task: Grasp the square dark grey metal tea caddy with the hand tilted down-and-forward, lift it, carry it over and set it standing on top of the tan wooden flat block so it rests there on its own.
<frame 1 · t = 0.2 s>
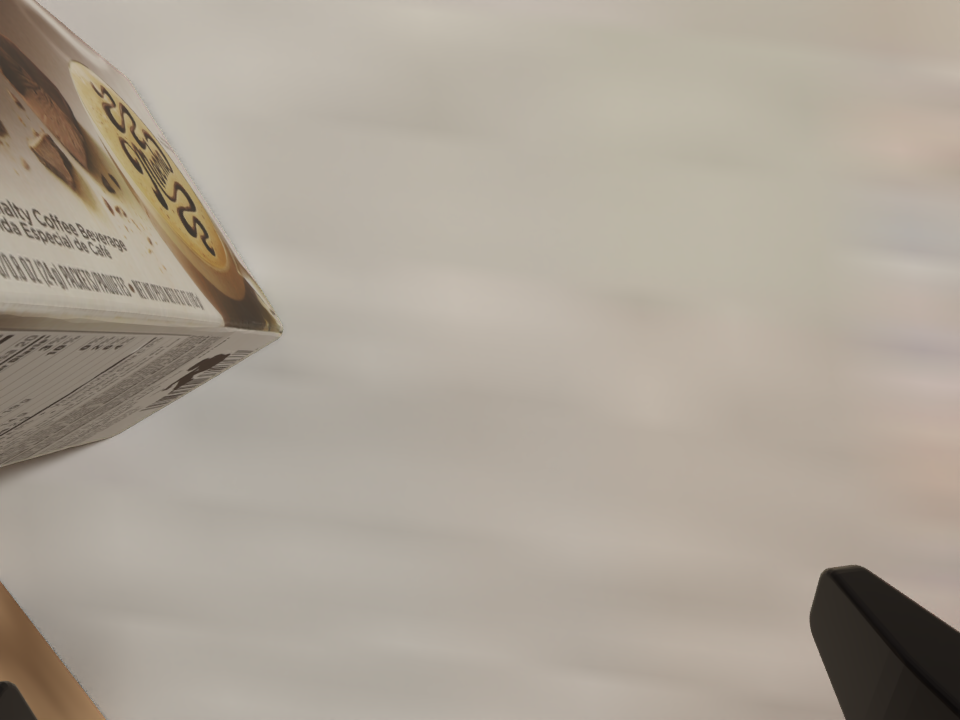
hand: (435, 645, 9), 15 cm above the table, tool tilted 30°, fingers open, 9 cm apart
coffee box: (124, 261, 23), on the table
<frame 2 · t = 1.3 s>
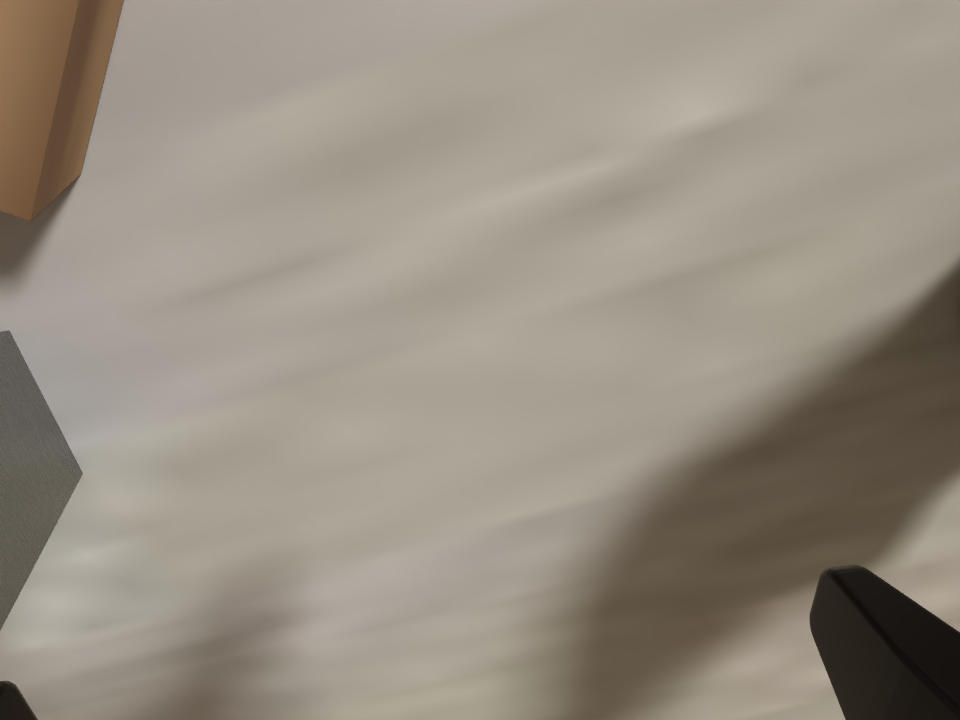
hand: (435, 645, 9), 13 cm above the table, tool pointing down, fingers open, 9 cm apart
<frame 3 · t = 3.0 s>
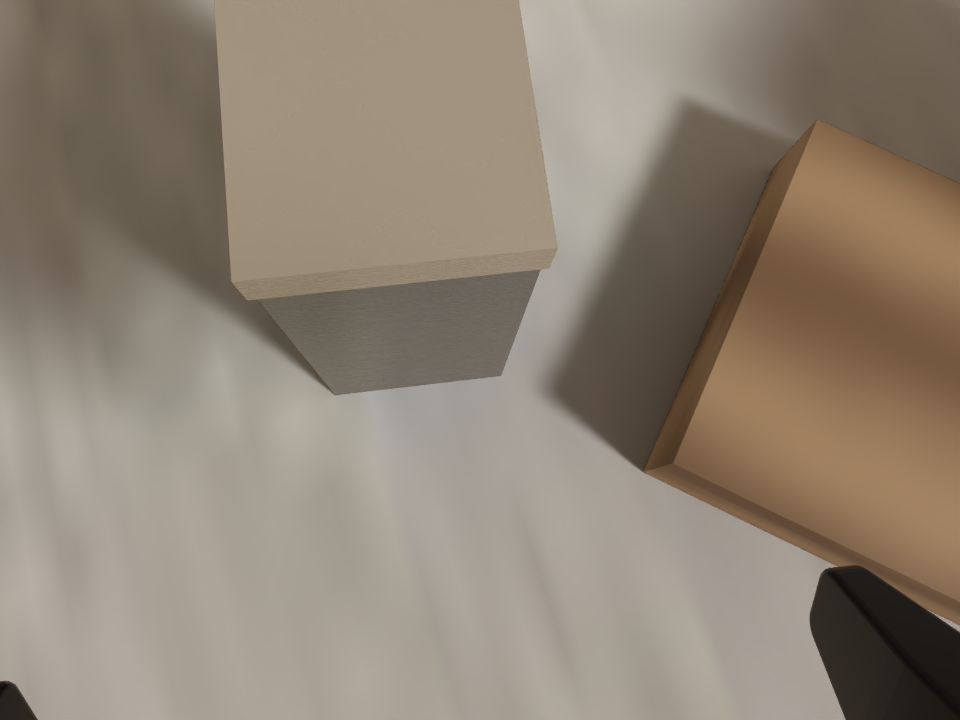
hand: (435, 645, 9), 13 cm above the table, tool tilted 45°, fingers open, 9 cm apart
tea caddy: (409, 305, 23), on the table
tan wooden flat block: (875, 388, 23), on the table
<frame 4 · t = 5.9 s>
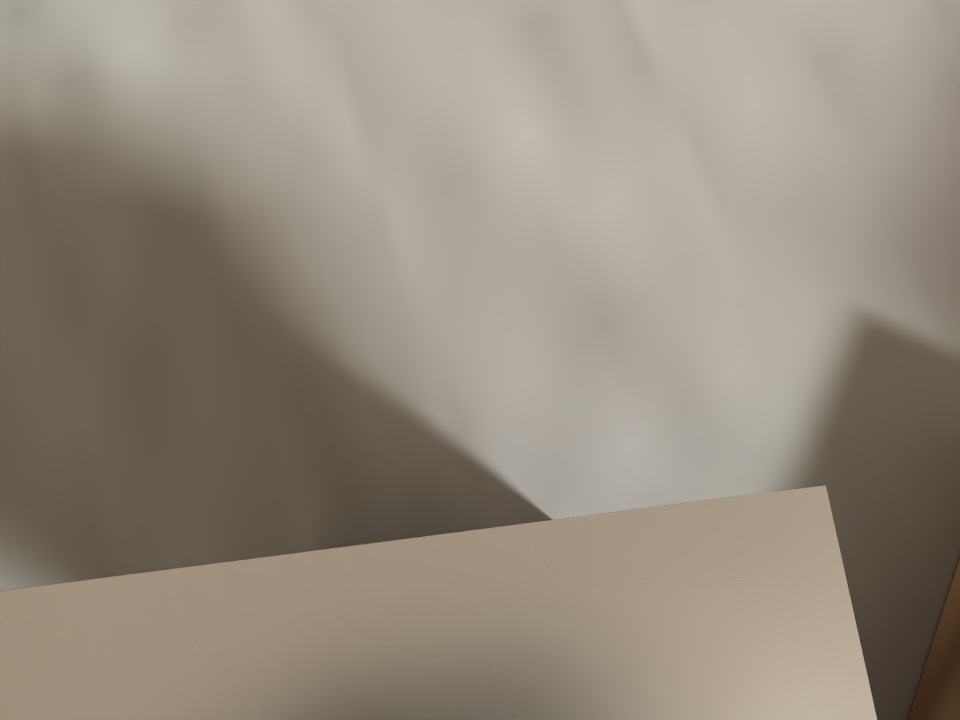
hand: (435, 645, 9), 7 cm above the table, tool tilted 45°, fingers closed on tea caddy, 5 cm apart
tea caddy: (447, 670, 15), on the table, touching gripper
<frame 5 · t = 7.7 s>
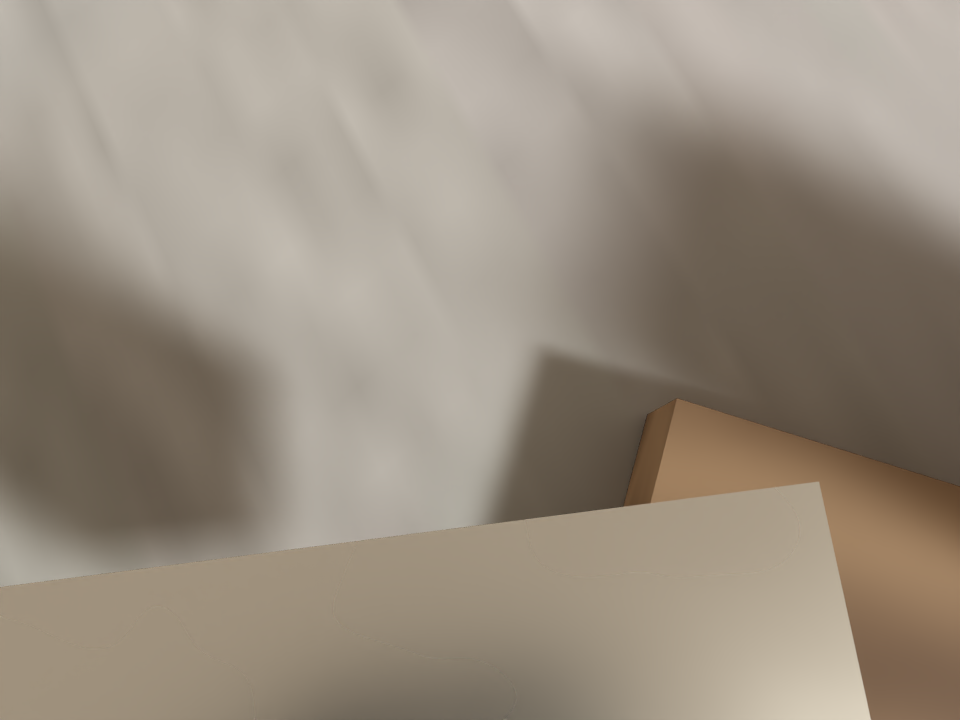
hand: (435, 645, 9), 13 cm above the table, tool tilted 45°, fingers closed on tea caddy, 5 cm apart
tea caddy: (445, 669, 15), point 7 cm above the table, touching gripper
tan wooden flat block: (785, 656, 22), on the table
when the fingers open (10 cm above the table, at t = 9.5 s): tea caddy stays where it is, resting on tan wooden flat block.
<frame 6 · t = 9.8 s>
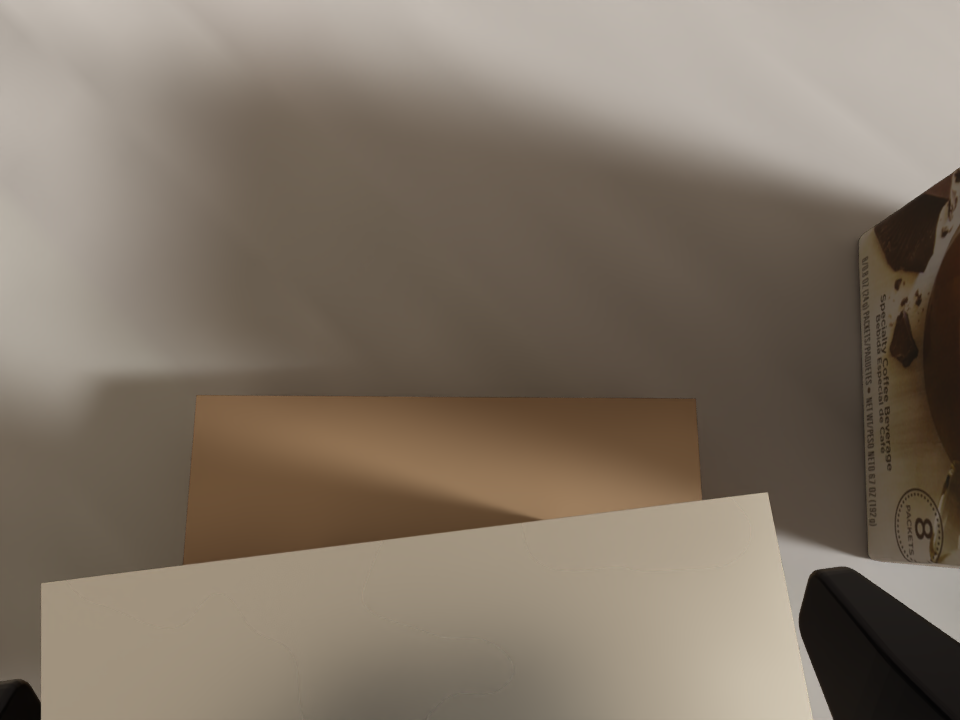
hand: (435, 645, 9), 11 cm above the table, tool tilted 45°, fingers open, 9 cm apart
tea caddy: (448, 660, 16), point 3 cm above the table, touching tan wooden flat block
tan wooden flat block: (447, 640, 19), on the table
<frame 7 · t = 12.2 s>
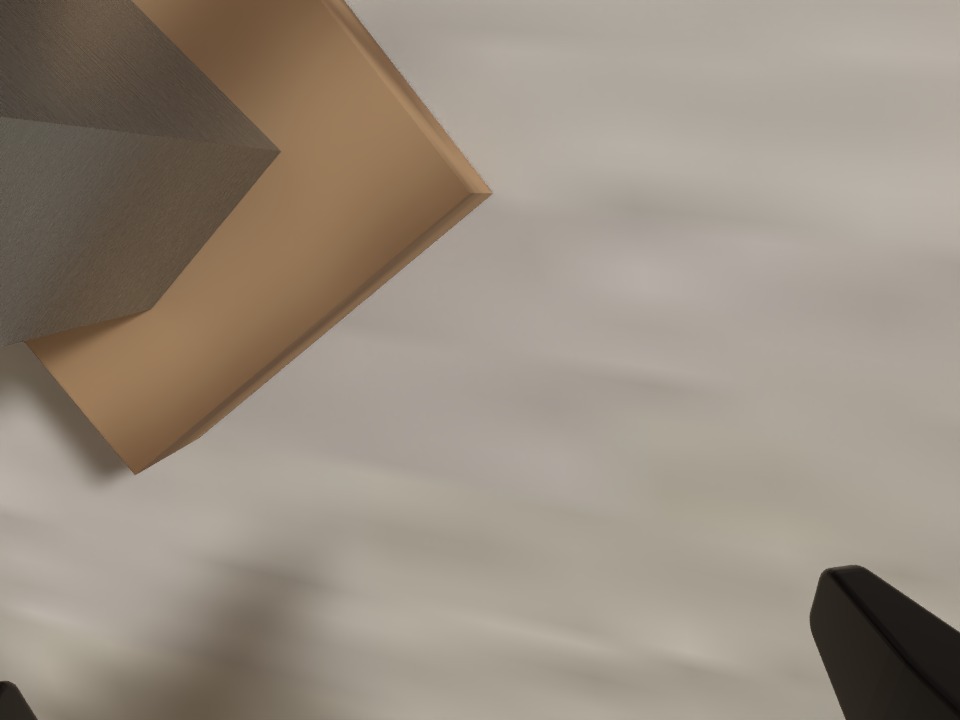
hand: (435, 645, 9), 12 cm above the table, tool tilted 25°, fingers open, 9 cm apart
tea caddy: (135, 154, 17), point 3 cm above the table, touching tan wooden flat block
tan wooden flat block: (204, 160, 20), on the table
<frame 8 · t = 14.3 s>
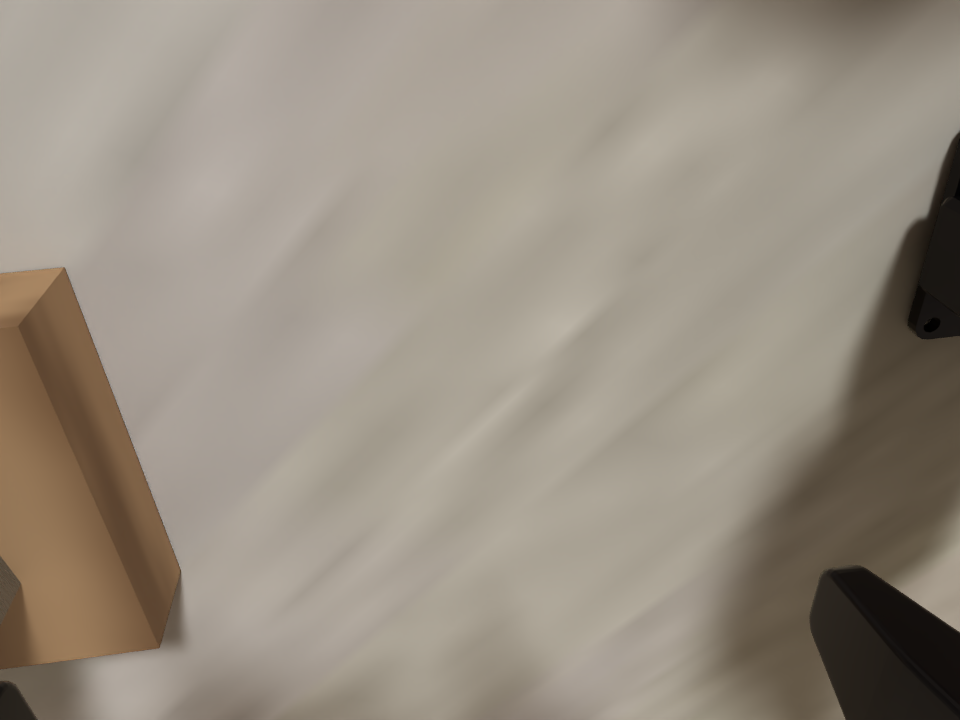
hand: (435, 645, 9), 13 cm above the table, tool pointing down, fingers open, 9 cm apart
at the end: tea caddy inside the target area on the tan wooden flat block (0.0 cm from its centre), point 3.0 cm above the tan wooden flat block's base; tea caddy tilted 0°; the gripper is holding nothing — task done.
